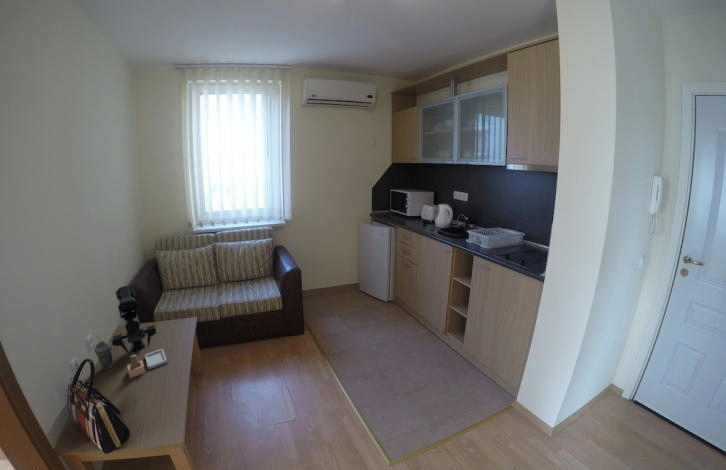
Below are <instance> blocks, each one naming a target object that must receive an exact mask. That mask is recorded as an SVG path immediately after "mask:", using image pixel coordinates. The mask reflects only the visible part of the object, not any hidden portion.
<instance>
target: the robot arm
mask: <svg viewBox="0 0 726 470" xmlns="http://www.w3.org/2000/svg"><path fill="white" fill-rule="evenodd" d="M115 295H116V296H115V297H116V299H117V301H118V303H119V304H118V305H117V307H118V311H119V316H120V319H122V320H124V327H125V330H126V333H125V335H123V333H120V334H115V335H113V336H112V337H111V345H112V346H117V347H121V348H122V349H123V350H125V352H126V353H129V349H128V345H127V344H126V343H128V344H131V351H132V352H133V353H134V352H137V351H139V350H143V349H145V348H146V344H145V342H144V341H143V339H145V338H147V346H148V347H149V346H150V343H151V339H152V337H153V336H155V334H158V332H157V327H156V325H155V324H153V325H148V326H146V329H144V328H142V326H141V323H140V321H139V316H138V315H139V314H140V311H141V309H140V304H139V302H138V300H135V296H136V293H135V288H134V287H133V286H130V285H125V286H120V287H118V289H117V290H116V291H115ZM146 336H147V337H146ZM125 340H127V342H126V341H125Z"/></svg>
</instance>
